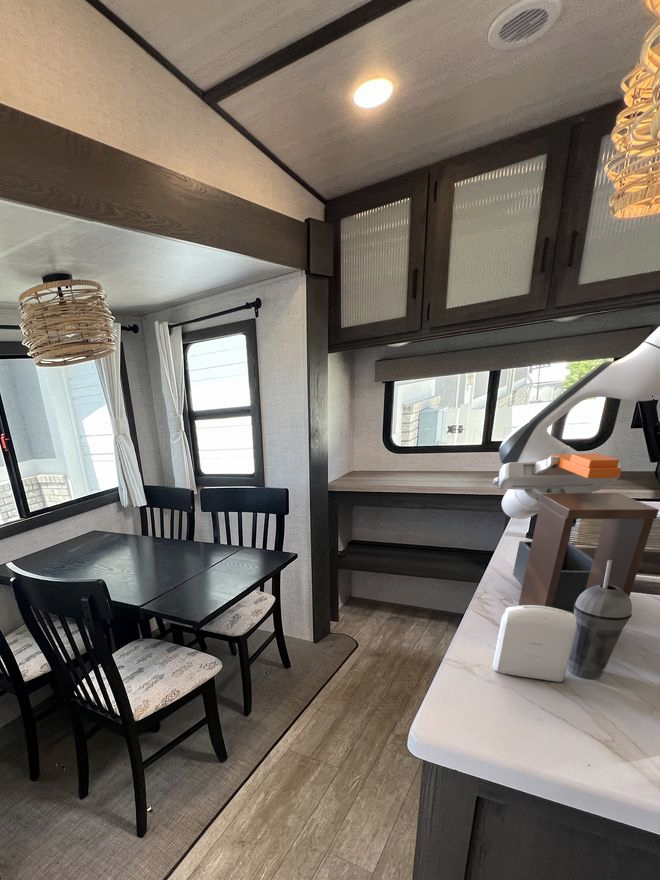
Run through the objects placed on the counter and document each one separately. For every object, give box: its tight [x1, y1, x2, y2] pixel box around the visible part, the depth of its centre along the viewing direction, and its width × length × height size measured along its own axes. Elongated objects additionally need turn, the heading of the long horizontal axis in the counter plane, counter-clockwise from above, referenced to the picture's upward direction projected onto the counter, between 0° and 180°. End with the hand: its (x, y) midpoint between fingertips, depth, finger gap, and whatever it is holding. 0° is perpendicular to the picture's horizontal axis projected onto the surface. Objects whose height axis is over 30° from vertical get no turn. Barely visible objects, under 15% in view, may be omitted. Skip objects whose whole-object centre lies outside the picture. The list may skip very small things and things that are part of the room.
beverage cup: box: [566, 560, 633, 680], centre depth 75 cm, size 7×7×20 cm
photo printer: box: [492, 605, 577, 683], centre depth 77 cm, size 10×4×12 cm, turn 63°
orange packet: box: [551, 453, 622, 479], centre depth 84 cm, size 18×4×3 cm, turn 163°
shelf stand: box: [517, 492, 660, 607], centre depth 85 cm, size 12×13×26 cm
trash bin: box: [512, 540, 594, 612], centre depth 106 cm, size 11×22×9 cm, turn 164°
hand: (573, 459), depth 88 cm, fingers closed on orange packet, 4 cm apart
